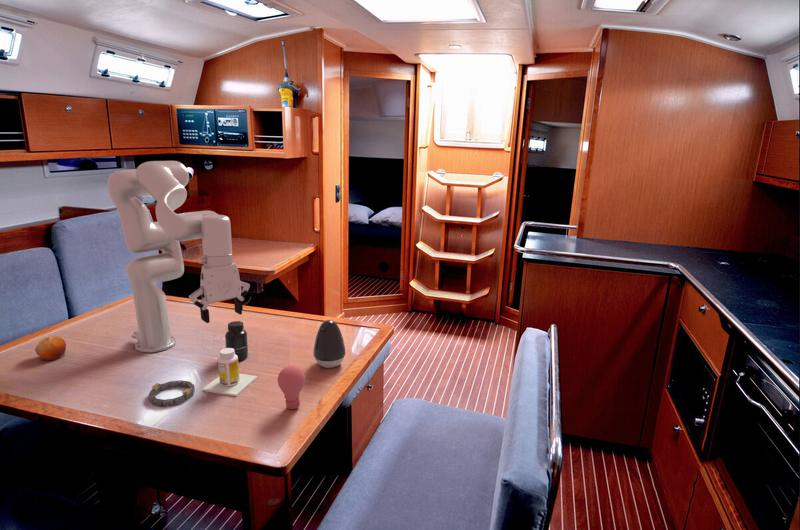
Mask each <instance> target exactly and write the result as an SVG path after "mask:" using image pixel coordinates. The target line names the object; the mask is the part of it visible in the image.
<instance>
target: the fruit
mask: <svg viewBox="0 0 800 530" xmlns="http://www.w3.org/2000/svg"><path fill="white" fill-rule="evenodd" d="M66 349H67V343H66V341H65V340H64V338H63V337H60V336H58V335H50V336H48V337H45V338H43V339H42V340H41V341H39V342H38V344H37V345H36V346H35V348H34V351H35V353H36V355H37V356H38V357H39V358H40V359H43V360H45V361H55V360H58V359H60V358H61V357H65V356H66V355H65V354H66Z"/></svg>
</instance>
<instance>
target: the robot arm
mask: <svg viewBox="0 0 800 530" xmlns="http://www.w3.org/2000/svg"><path fill="white" fill-rule="evenodd" d="M189 181H190V175H189V171H188V169H187V167H186V166H185V165H184V164H183V163H182V162H180V161H178V160H151V161H145V162H142V163H141V164H139V165H138V166H137V167H136V168H133V169H132V168H131V169H130V168H129V169H128V168H127V169H120V170H116V171H114V172H112V173H110V175H109V177H108V179H107V189H108V190H107V191H108V193H109V197H110V198H111V200H112V202H113V204H114V206H115V207H116V210H117V212H118V217H119V221H120V224H121V230H122V233H123V237H124V241H125V245H126V248H127V249H128V251H129V252H130V253H133V254H141V253H149V252H150V253H151V252H153V251H161V253H157V254H151V255H145V256H141V257H137V258H134V259H132V260H131V261H130V262H128V263H127V266H126V275H127V278H128V281H129V283H130V287H131V291H132V296H133V304H134V310H135V316H136V324H137V329H135V330H134V331H133V334H131V336H130V337H131V339H135V340H136V343H135V345H134V349H135V350H136V351H137V352H140V353H145V352H146V353H145V354H147V353H157V352H162V351H165V350H168V349H170V348H172V347H173V346H175V344H176V342H177V339H176V337H175V336H173V335H171V331H170V320H169V314H168V304H167V296H166V293H165V292H164V291H163V290H162V289H161V288H159V286H158V284H160V283H164V282H168V281H172V280H176V279H179V278H181V277H182V276H183V275H184V272H185V264H184V263H185V262H184V259H183V258H184V257H183V254H182V253H183V252H182V249H181V244H180V242H187V241H192V240H197V239H201V241H202V242H201V243H202V257H201V258H199V259H198V263H199V264H203V265H202V266H201V272H200V284H199V285H200V287H199V288H198V289H196V290H195V291H193V292H192V293H190V295H188V298H189V299H190V301H191V302H192V304H193V305H195V306H196V307H198V308H199V311H200V319H201V320H202V321H203V322H204V323H206V324H210V322H211V321H210V312H209V309H208V307H209V305H210V304H214V303H219V302H224V301H228V300H232V299H234V301H233V304H234V313H236V314H237V315H242V314H243V310H244V308H243V307H244V303H243V302H244V301H245V297H246V296H247V295H248V291H249V289H250V287H251V284H250V283H248V282H245V281H242V280H241V279H240V272H239V269H238V266H237V265H238V264H237V263H236V262H234V259H233V243H232V226H231V220H230V217H229V216H227V215H224V214H218V213H216V212H215V211H212V210H200V211H189V212H183V213H176V212H175V210H177V209H179V208H180V207H181V206H182V205H183V204H184V203H185V202H186V199H187V196H188V191H187V189H186V188H185V187H186V186H187V185H188V183H189ZM148 196H151V197H152V198H153V199H154V200H155V201H156V204H155V216H156V220H157V221H153V222H152V220H151V216H150V211H149V208H148V207H147V205H146V204H145V203H144V202H143V201H141V199H139V198H138V197H148ZM198 297H201V300H200V301H199V300H198Z"/></svg>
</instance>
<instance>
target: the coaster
mask: <svg viewBox="0 0 800 530" xmlns="http://www.w3.org/2000/svg"><path fill="white" fill-rule="evenodd" d="M239 377H240V380H239V382H238V383H237V384H235V385H233V386H223V385H221V384H220V379H219V376H218V377H216V378H215V379H214V380H212V381H211V382H209V383H208V384H207V385H206V386H205V387H203V388H202V391H203V392H206V391H207V392H209V393H212V394H219V395H225V396H230V395H231V397H236V396H237V397H238V396H239V395H240V394H241V393H243V392H244V391H245V390H246V389H247V388H248V387H249V386H250V385H251V384H253V383H254V382H255V381H256V380H257V379H258V376H257V375H251V374H245V373H240V372H239ZM256 378H257V379H256ZM255 379H256V380H255ZM254 380H255V381H254ZM253 381H254V382H253ZM248 385H249V386H248ZM247 386H248V387H247ZM246 387H247V388H246ZM245 388H246V389H245ZM244 389H245V390H244Z"/></svg>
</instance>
